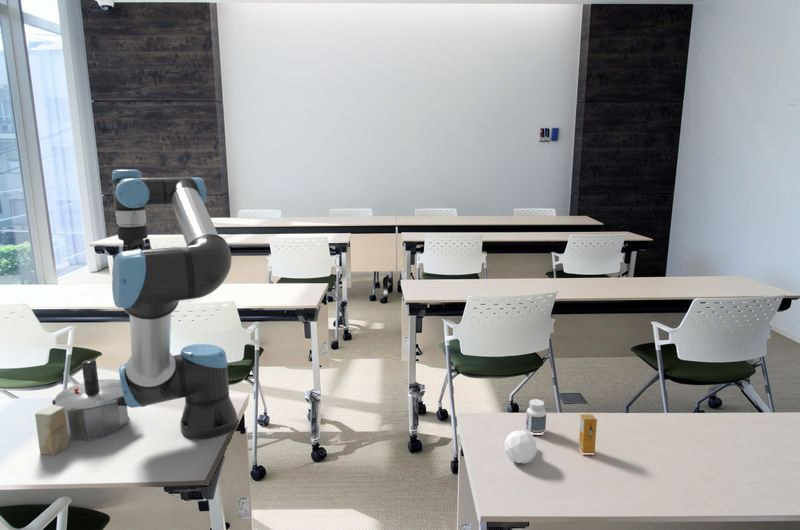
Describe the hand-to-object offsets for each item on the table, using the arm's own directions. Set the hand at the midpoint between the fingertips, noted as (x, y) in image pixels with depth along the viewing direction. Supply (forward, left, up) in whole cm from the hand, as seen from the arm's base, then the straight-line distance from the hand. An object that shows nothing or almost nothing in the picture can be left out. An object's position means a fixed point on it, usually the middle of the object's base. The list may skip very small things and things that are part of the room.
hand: (139, 297), depth 152 cm
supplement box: (-125, +21, -35) cm, 132 cm away
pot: (+10, +11, -35) cm, 38 cm away
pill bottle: (-114, +11, -35) cm, 120 cm away
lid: (+10, +11, -26) cm, 30 cm away
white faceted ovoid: (-108, +24, -35) cm, 116 cm away
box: (+14, +23, -35) cm, 44 cm away
